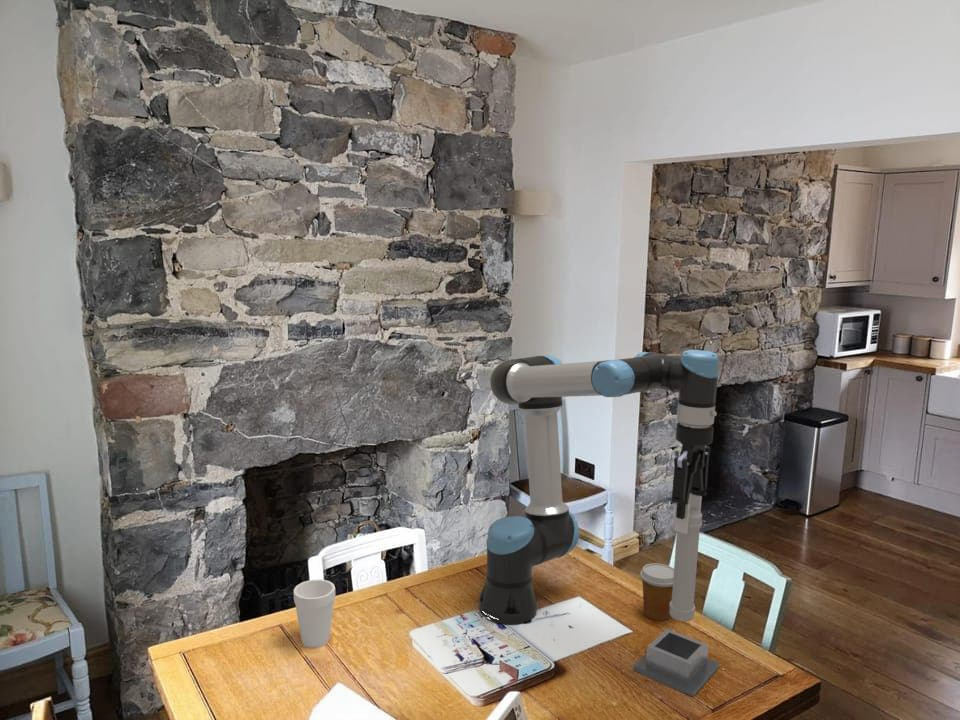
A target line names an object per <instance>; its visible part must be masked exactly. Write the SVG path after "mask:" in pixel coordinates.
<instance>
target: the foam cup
mask: <svg viewBox="0 0 960 720" xmlns="http://www.w3.org/2000/svg"><path fill="white" fill-rule="evenodd" d="M335 599H336V587H335V584H334V583H333V582H331V581H330V580H326V579H309V580H306V581H302V582H300V583H299V584H297V585H296V586H295V587H294V589H293V601H294V602H293V603H294V604H295V610H296V616H297V622H298V628H299V633H300V635H299V636H300V639H301V640H300V641H301V643H302V645H303V646H304V647H305V648H310V649H313V648H320V647H323V646H325V645H327V643H328V642H329V640H330V635H331V627H332V622H333V621H332V619H333V611H334V605H335Z"/></svg>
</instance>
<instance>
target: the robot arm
mask: <svg viewBox="0 0 960 720" xmlns="http://www.w3.org/2000/svg"><path fill="white" fill-rule="evenodd" d="M719 361H720V360H719V356H718V355H717V353H715V352H712V351H710V350H700V349H689V350H684V351H683V352H682V354H681V357H679V356H678V357H677V356H672V355H667V354H663V353H658V352H656V351H655V352H654V351H653V352H649V351H648V352H647V351H642V352H639V353H637V354H636V355H635V356H634V357H628V358H619V359H609V360H607V359H606V360H596V361H582V362H581V361H580V362H573V363H571V362H570V363H563V362H562V361H561V360H560V359H559V358H557V357H555V356H554V355H535V356H529V357H521V358H513V359H507V360H505V361H502V362H500V363H499V364H498V365H496V367H495V368H494V369H493V370H492V372H491V375H490V378H489V379H490V380H489V384H490V385H489V386H490V389H491V392H492V394H493V396H494V397H495V398H496V399H497V400H498V401H500V402H502V403H504V404H507V405H518V410H519V411H520V412H522V413H523V415H524V422H525V423H524V424H525V425H524V426H525V437H526V439H525V440H526V452H527V470H528V485H529V501H530V502H529V503H528V505H527V506H526V507H525V508H524V510H525V511H524V512H525V513H524V514H525V515H524V516H525V517H524V516H520V515H513V516H504V517H501V518H499V519H496V520H495V521H493V522H492V523H491V524H490V526H489V527H488V530H487V539H486V575H485V576H486V579H485V582H484V585H483V588H482V589H481V593H480V595H479V598H478V611H479V613H480V615H482V617H484V618H485V619H487V618H486V617H489V616H487V615H485V614H484V613H483V612H482V611H484V612H485V613H487V614H489V615H491V616H493V617H495V618H498V619H499V620H497V619H493V618H491V617H489V618H490V619H491V620H492V621H491V620H490V621H491V622H493V621H494V622H493V623H498V624H502V625H503V624H504V625H518V624H523V623H525V622H529V621H531V620H532V619H533V618H534V617H536V615H537V613H538V600H537V597H536V594H535V590H534V586H533V583H532V577H533V576H532V573H533V572H532V571H533V567H535V566H537V565H538V566H539V565H541V564H543V563H546V562H549V561H551V560H554V559H558V558H559V559H560V558H562V557H563V556H565V555H566V554H569V553H571V552H572V551H573V550H574V549H575V548H576V546H577V545H578V542H579V539H580V527H579V523H578V521H577V520H575V515H574V514H573V513H572V512H571V511H570V510H569V509H570V508H569V506H568V505H567V504H566V503H565V502H564V501H563V490H562V489H563V488H562V487H563V486H562V474H561V473H562V471H561V455H560V454H561V453H560V440H559V435H560V434H559V423H558V422H559V421H558V420H559V419H558V412H559V411H560V409H561V408H562V407H563V398H564V397H565V398H566V397H591V396H592V397H594V396H595V397H597V396H598V397H599V396H602V397H605V398H617V397H618V398H619V397H623V396H625V395H626V396H627V395H631V394H635V393H642V392H648V391H654V390H663V391H668V392H673V393H678V403H677V413H676V421H677V424H676V428H675V429H676V431H675V439H676V441H677V442H678V443H681V445H682V447H681V450H680V454H679V456H674V459H673V464H674V466H673V467H674V469H673V471H674V472H673V480H672V490H671V492H672V493H671V502H672V503H676V505H675V514H674V515H675V517H674V529H673V530H674V531H675V532H677V531H678V532H681V533H685V534H687V533H688V523H689V510H690V509H694V510H697V511H699V512H701V511H702V499H703V497H707V489H708V475H709V462H710V454H711V446H709V445H711V444H713V442H714V441H713V440H714V439H713V438H714V428H715V427H713V424H714V423H715V417H716V416H717V415H718V414H717V411H716V402H717V401H716V399H717V398H716V397H717V390H718V379H719V377H720V373H719ZM688 501H689V504H688ZM701 513H702V512H701Z"/></svg>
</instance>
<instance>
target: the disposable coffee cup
mask: <svg viewBox="0 0 960 720" xmlns="http://www.w3.org/2000/svg"><path fill="white" fill-rule="evenodd" d="M640 577H641V579H642V580H641V581H642V596H643V597H642V598H643V613H644V615H645V616H646V617H647V618H648V619H650V620H654V621H666V620H668V619H669V618H670V616H671V615H670V606H669V604H670V601H672V590H673V577H674V567H672V566H670V565H667V564H663V563H655V562H654V563H648V564H645V565H644V566H643V567H642V569H641V571H640Z"/></svg>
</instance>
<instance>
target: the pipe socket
mask: <svg viewBox="0 0 960 720" xmlns="http://www.w3.org/2000/svg"><path fill="white" fill-rule="evenodd" d="M708 654H709V644H707V643H705V642H703V641H700V640H697V639H696V638H692V637H690V636H687V635H686V634H685V635H684V634H682V633H679V632H677V631H674V630H671V629H669V628H666V629H665V630H663V631H662V632H661V633H660V634H659V635H658V636H657V637H656V638H655V639H654V640H653V641H651V642H650V643H649V644H648V645H647V647H646V653H645V654H644V655H643V656H642V657H640V658H639V660H637V662H635V663H634V664H633V668H632V669H633V672H636V673H639V674H641V675H643V676H645V677H646V678H647V677H648V678H650V679H652V680H654V681H656V682H659V683H660V684H663V685H665V686H668V687H670V688H672V689H674V690H677V691H679V692H681V693H683V694H686V695H688V696H690V697H692V698H694V696H695V695H696V694H697V693H698V692H699V691H700V690H701V689H702V687H703V686H704V685H705V684H706V683H707V682H708V681H709V680H710V678H711V677H712V676H713V675H714V674H715V672H716V671H717V670H718V669H719V667H720V663H719V661H716V660H714V659H711V658H708Z"/></svg>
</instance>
